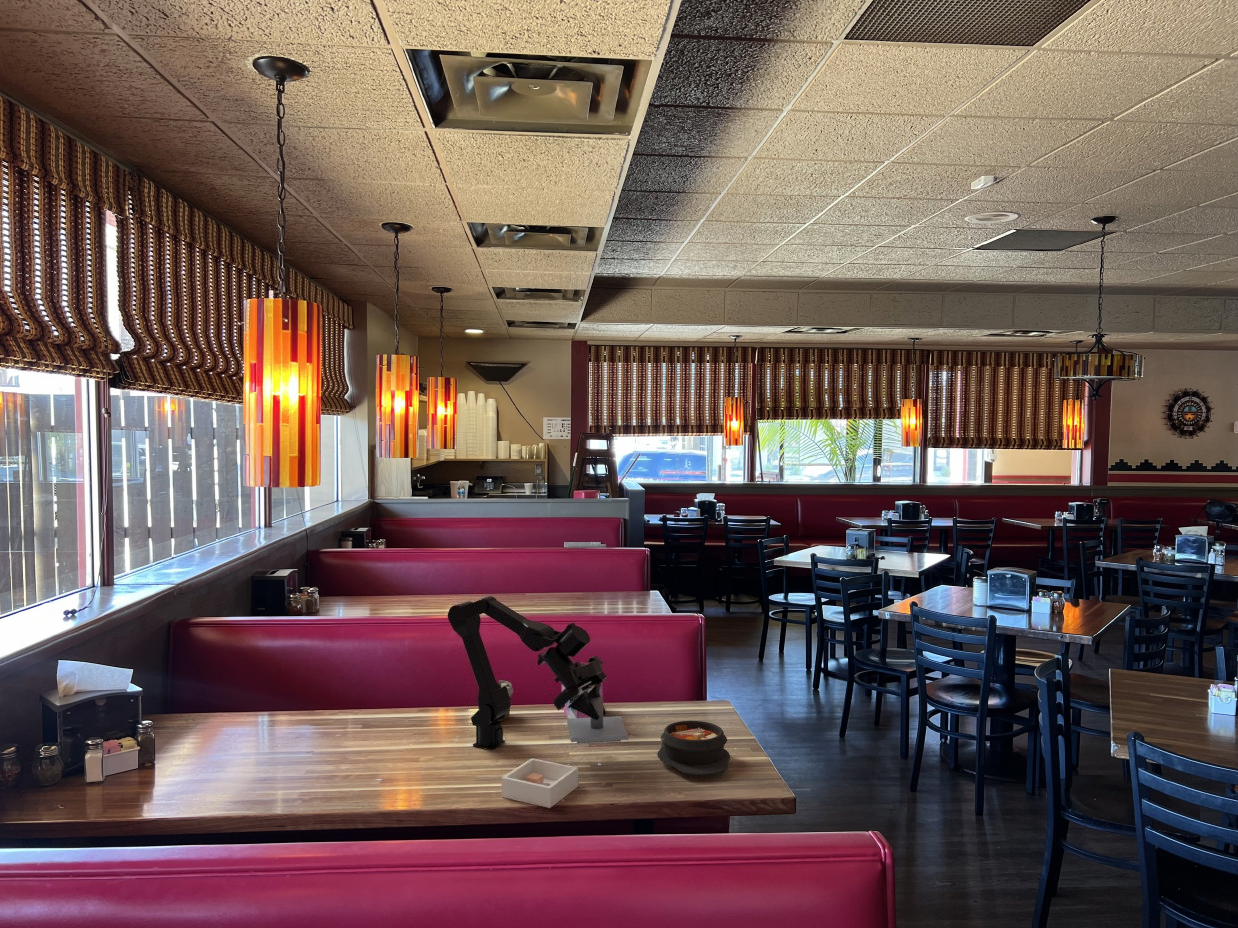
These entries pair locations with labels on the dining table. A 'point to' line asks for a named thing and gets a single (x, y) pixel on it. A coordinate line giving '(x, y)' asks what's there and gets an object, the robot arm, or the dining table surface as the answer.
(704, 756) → the casserole
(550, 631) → the robot arm
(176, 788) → the dining table surface
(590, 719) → the lid
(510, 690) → the food container
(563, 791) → the crate
